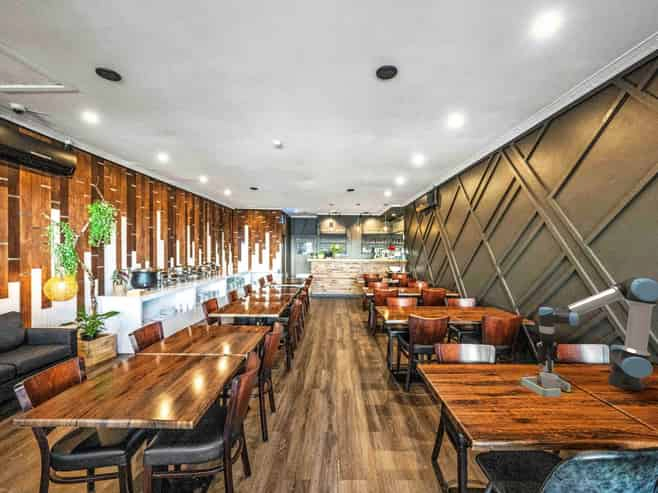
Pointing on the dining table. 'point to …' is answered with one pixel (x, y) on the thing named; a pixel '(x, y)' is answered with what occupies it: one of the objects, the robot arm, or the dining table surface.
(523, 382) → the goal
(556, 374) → the rail
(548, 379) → the cup
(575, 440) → the dining table surface
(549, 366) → the kicker
